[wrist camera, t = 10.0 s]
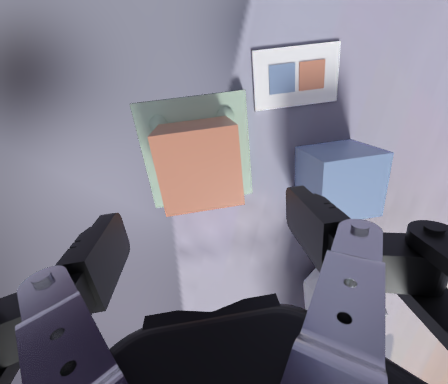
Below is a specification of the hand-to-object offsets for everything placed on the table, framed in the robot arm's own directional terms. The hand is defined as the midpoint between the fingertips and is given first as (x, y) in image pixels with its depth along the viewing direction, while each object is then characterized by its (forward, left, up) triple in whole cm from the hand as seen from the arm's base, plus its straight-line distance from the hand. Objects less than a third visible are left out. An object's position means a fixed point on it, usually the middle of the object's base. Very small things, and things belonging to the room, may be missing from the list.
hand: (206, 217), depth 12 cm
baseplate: (0, 0, -13) cm, 13 cm away
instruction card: (-10, -6, -13) cm, 17 cm away
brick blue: (-13, +4, -13) cm, 19 cm away
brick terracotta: (0, 0, -12) cm, 12 cm away
